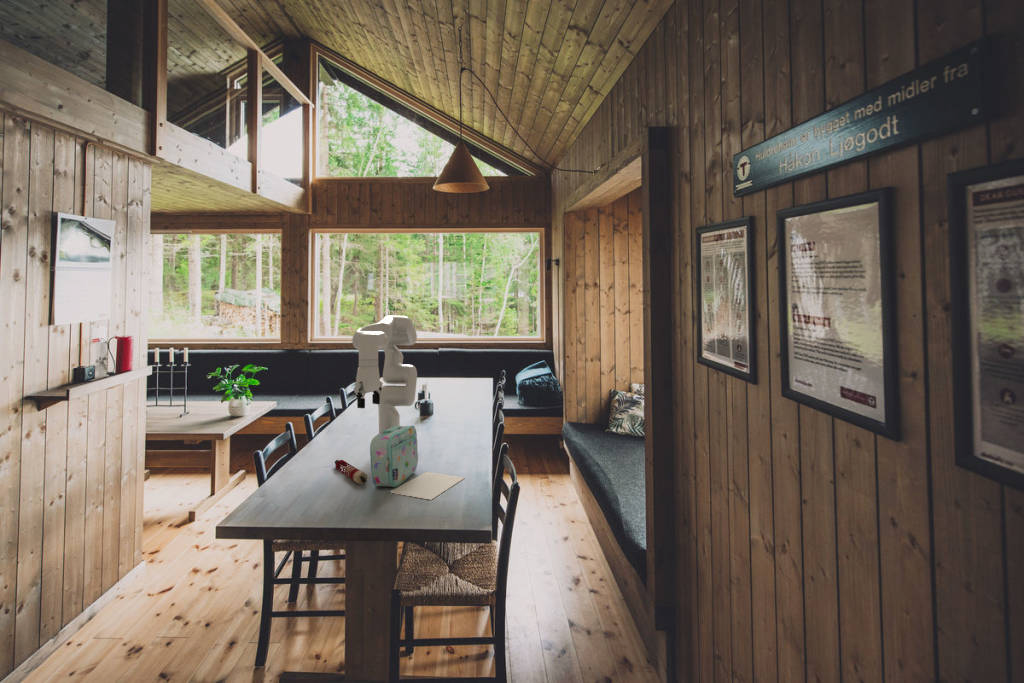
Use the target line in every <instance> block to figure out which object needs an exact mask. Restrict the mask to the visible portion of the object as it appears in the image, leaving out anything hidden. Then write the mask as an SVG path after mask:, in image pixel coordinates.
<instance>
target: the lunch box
mask: <svg viewBox="0 0 1024 683" xmlns="http://www.w3.org/2000/svg"><path fill="white" fill-rule="evenodd" d="M418 451H419V450H418V436H417V429H416V427H415V425H400V426H394V427H392V428H389V429H387V430H383V431H382V432H381V433H379V432H378V434H376V435H375V436H373V438H372V439H371V441H370V447H369V454H370V455H369V457H370V471H371V477H372V482H373V485H374V486H375V487H392V488H398V487H399V486H401V484H402V483H403V482H405V481H406V480H407V479H409V478H410V477H411V476H412V474H414V473H415V472H416V469H417V467H418V461H419V452H418ZM403 484H404V483H403Z"/></svg>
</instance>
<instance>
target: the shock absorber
mask: <svg viewBox="0 0 1024 683" xmlns="http://www.w3.org/2000/svg"><path fill="white" fill-rule="evenodd" d="M334 464H335V465H334V466H335V469H336V470H337V471H339V472H340V473H342V474H343V475H345V476H347V477H348V478H349V479H351V480H352V481H353V482H354V483H356V484H358V485H363V484H365V483H367V480H368V475H367V473H365V471H363V470H360V469H359V468H356V467H355V466H353V465H352V464H350V463H348V462H347V461H345V460H344V459H336V460H335V461H334ZM339 469H340V470H339ZM342 469H343V471H341V470H342ZM344 469H345V470H344ZM344 471H345V472H344ZM348 475H349V476H348Z"/></svg>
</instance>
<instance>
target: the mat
mask: <svg viewBox="0 0 1024 683" xmlns="http://www.w3.org/2000/svg"><path fill="white" fill-rule="evenodd" d="M464 478H465V477H463V476H455V475H450V474H443V473H437V472H430V471H426V472H423V473H422V474H420V475H418V476H416V477H414V478H412V479H410V480H409V481H407V482H405V483H403V484H402V485H401V484H400V485H399V486H397V487H395V488H394V489H392V490H391V491H392V492H391V491H389V492H391V493H390V494H392V493H393V492H394V493H395V494H394V495H397V494H401V495H400V496H403V495H406V496H405V497H409V496H412V497H411V498H414V497H417V499H420V498H423V499H422V500H426V499H429V500H428V501H432V499H433V498H434V499H436V498H437V497H439V496H440V495H442V494H444V493H445V492H446V491H448V490H449V489H452V488H453V487H454V486H456V485H457V484H459V483H460V482H462V481H464V480H465V479H464ZM461 480H462V481H461ZM458 482H459V483H458ZM455 484H456V485H455ZM453 485H454V486H453ZM452 486H453V487H452ZM444 491H445V492H444ZM441 493H442V494H441ZM438 495H439V496H438ZM436 496H437V497H436ZM435 497H436V498H435ZM434 499H433V500H434Z"/></svg>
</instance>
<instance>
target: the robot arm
mask: <svg viewBox="0 0 1024 683" xmlns="http://www.w3.org/2000/svg"><path fill="white" fill-rule="evenodd" d="M410 318H411V317H408V316H406V315H386V316H384V317H382V318H381V319H380V320H379V321H378V322H376V323H373V324H369V325H368V324H367V325H365V326H362V327H360V328H358V329H356V331H355V332H354V333H353V335H352V339H351V341H352V346H353V347H354V348H355V349H357V350H358V368H357V371H356V377H355V378H356V380H355V386H354V387H353V391H354V392H353V393H354V395H355V398H357V401H356V402H357V406H356V407H357V408H358V409H366V398H365V397H366V394H368V393H373V394H372V397H371V398H372V404H373V405H377V408H378V434H379V433H381V432H382V431H383V430H387V429H389V428H392V427H394V426H401V425H400V423H401V422H400V419H401V418H400V417H401V416H400V413H399V411H398V409H397V408H396V407H411V406H412V405H414V403H415V400H416V391H417V390H416V389H417V381H418V370H417V368H416V366H415V365H413V364H403V362H404V354H403V353H402V351H401V350H400V349H399V348H398V347H397V346H413V345H414V344H416V343H417V340H418V338H417V337H418V334H417V330H416V328H415V326H414V323H413V321H412V320H411V319H410ZM379 350H383V351H384V364H383V370H382V380H383V382H384V383H385V384H386V385H383V384H384V383H383V382H382V381H380V380H381V379H380V369H379Z"/></svg>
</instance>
